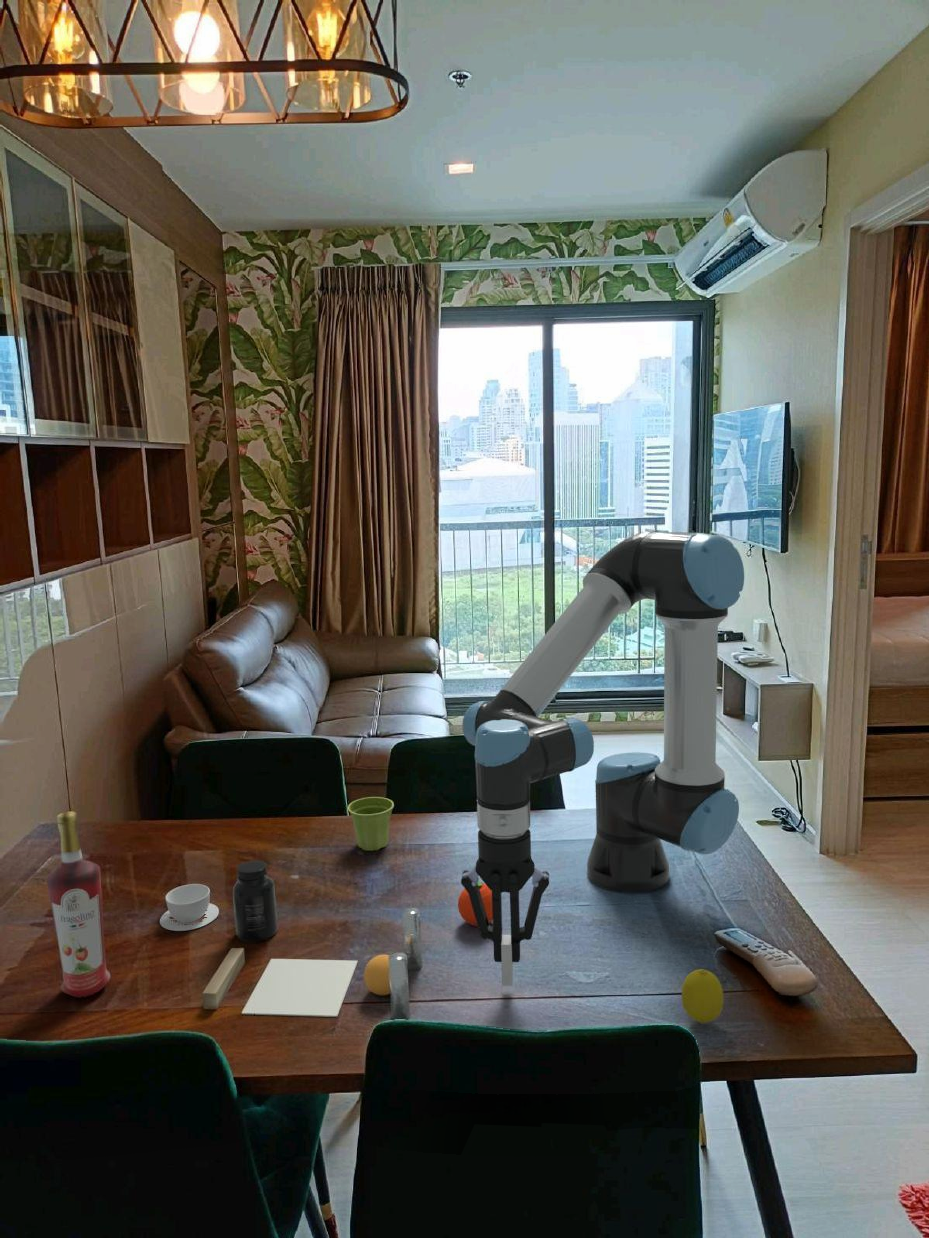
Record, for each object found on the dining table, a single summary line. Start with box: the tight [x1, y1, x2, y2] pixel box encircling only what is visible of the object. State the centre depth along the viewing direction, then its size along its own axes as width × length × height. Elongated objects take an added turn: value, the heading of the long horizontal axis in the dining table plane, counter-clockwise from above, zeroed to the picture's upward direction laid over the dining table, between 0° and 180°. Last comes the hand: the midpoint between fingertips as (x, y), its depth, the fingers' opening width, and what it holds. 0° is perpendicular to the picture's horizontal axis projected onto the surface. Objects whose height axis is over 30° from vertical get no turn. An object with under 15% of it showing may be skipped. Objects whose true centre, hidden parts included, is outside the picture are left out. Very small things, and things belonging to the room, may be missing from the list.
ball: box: [363, 954, 390, 996], centre depth 129 cm, size 6×6×6 cm
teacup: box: [159, 883, 220, 932], centre depth 153 cm, size 10×10×5 cm
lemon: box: [681, 968, 724, 1025], centre depth 119 cm, size 6×6×8 cm
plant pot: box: [347, 796, 395, 852], centre depth 180 cm, size 9×9×9 cm
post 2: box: [402, 907, 423, 971], centre depth 135 cm, size 3×3×9 cm
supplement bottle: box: [232, 860, 278, 943], centre depth 146 cm, size 7×7×12 cm
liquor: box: [46, 811, 111, 999], centre depth 130 cm, size 7×7×28 cm
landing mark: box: [241, 958, 359, 1018], centre depth 131 cm, size 14×14×1 cm
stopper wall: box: [202, 947, 246, 1010], centre depth 132 cm, size 2×12×2 cm, turn 175°
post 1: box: [388, 952, 411, 1021], centre depth 123 cm, size 3×3×9 cm
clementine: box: [457, 881, 493, 927], centre depth 148 cm, size 8×7×7 cm
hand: (507, 980), depth 128 cm, fingers closed
